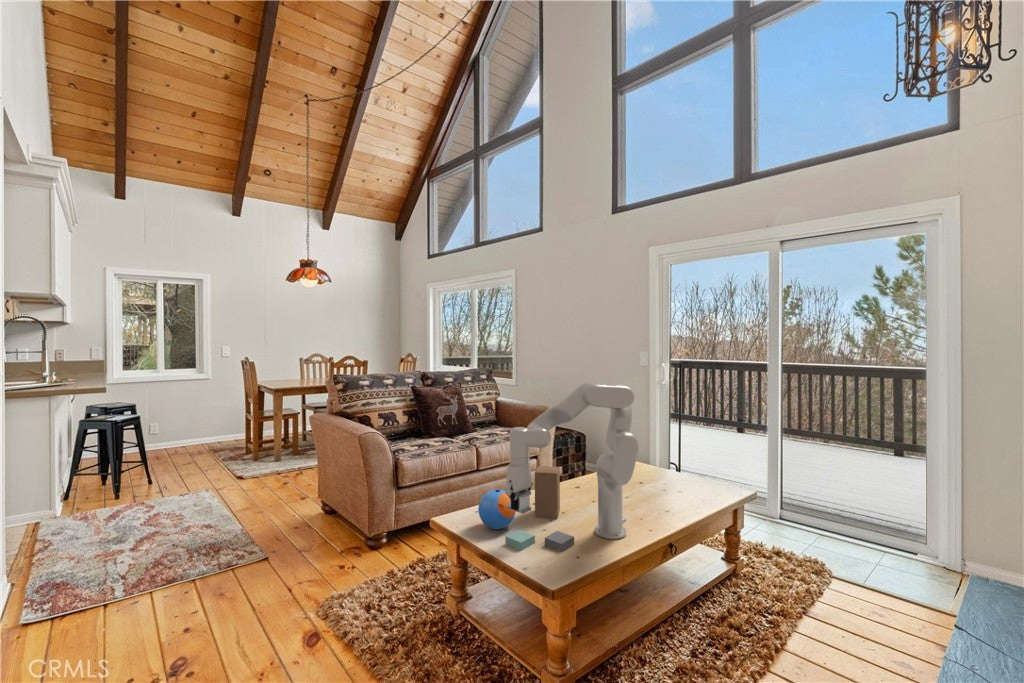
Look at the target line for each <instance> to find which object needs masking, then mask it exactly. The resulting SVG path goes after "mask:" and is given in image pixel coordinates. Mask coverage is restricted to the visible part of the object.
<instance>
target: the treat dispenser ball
mask: <svg viewBox="0 0 1024 683" xmlns="http://www.w3.org/2000/svg"><path fill="white" fill-rule="evenodd" d="M505 492H506V490H502V489H491V490H489V491H487V492H486V493H485V494H484V495H483V496H482V497H481V499H480V501H479V503H478V515H479V518H480V520H481V522H482V523H483V525H484V526H486V527H488V528H490V529H493V530H501V529H504V528H506V527H507V526H509V525H510V524H511V523H512V521H513V520H514V518H515V516H516V513H517V512H516V511H513V510H510V509H508V506H509V496H508V495H507V494H505Z"/></svg>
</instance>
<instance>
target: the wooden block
mask: <svg viewBox="0 0 1024 683" xmlns="http://www.w3.org/2000/svg"><path fill="white" fill-rule="evenodd" d="M560 470H561V468H560V467H559V466H549V465H548V466H546V465H545V466H544V465H538V466H536V470H535V472H534V517H535V518H541V519H543V518H544V519H555V520H557V519H558V517H559V514H560V512H561V502H560V501H561V495H560V494H561V492H560V491H561V489H560V488H561V484H560V483H561V480H560V477H561V475H560V473H561V471H560Z"/></svg>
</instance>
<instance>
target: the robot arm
mask: <svg viewBox="0 0 1024 683" xmlns="http://www.w3.org/2000/svg"><path fill="white" fill-rule="evenodd" d="M634 401H635V393H634V391H633V390H632V389H631V387H629V386H626V385H622V384H619V383H614V382H611V383H606V384H598V383H594V382H589V381H588V382H584V383H582V384H580V385H578V387H577V388H576V389H574V390H573V391H572V392H571V393H570V394H568V395H567V397H565V398H564V399H563V400H561V401H560V402H559V403H558V404H556V405H555V406H552V407H550V408H549V409H547V410H546V411H544V412H542V413H541V414H540V415H538V416H537V417H536V418H534V420H532V421H531V422H530V423H529V424H528V425H527V427H524V426H516V427H514V426H513V427H511V429H510V430H509V464H507V465H508V466H507V469H506V479H505V480H506V481H505V482H506V484H505V487H506V489H505V494H507V495H508V496H509V497H510V499H511V509H513V510H516V511H517V510H518V500H517V496H518V492H519V491H522V490H527V491H531V489H532V487H533V485H534V484H533V481H532V471H531V469H532V468H531V462H530V448H538V449H542V448H543V449H544V448H546V447H547V446H549V444H550V443H551V441H552V436H551V433H550V431H551V429H553V428H555V427H557V426H559V425H561V424H568V423H571V422H573V421H575V420H576V419H577V418H578V417H579V416H580V415H581V414H582V413H583V412H585V411H586V410H587V409H588V408H589V407H590V406H591V407H595V408H604V409H609V410H610V416H609V421H608V425H607V430H606V433H605V439H604V444H605V447H606V448H607V449H608V450H610V451H612V452H613V453H604V454H600V456H599V457H598V458H597V461H596V465H595V470H596V472H595V473H596V477H597V492H598V493H597V512H598V513H597V518H598V519H597V525H596V526H595V527H594V530H593V531H594V533H595V535H596V536H598V537H600V538H602V539H605V540H606V539H607V540H619V539H622V538H624V537H625V536H627V530H626V529H625V527H623V525H624V523H626V522H627V518H626V517H624V516H623V486H626V485H627V484H628V483H630V482H631V479H632V477H633V474H634V471H635V469H636V468H635V467H636V463H637V458H638V453H639V449H640V448H639V446H640V445H639V441H638V438H637V436H635V434H633V433H631V427H632V420H633V411H632V404H633V403H634ZM513 493H515V495H513Z"/></svg>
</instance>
